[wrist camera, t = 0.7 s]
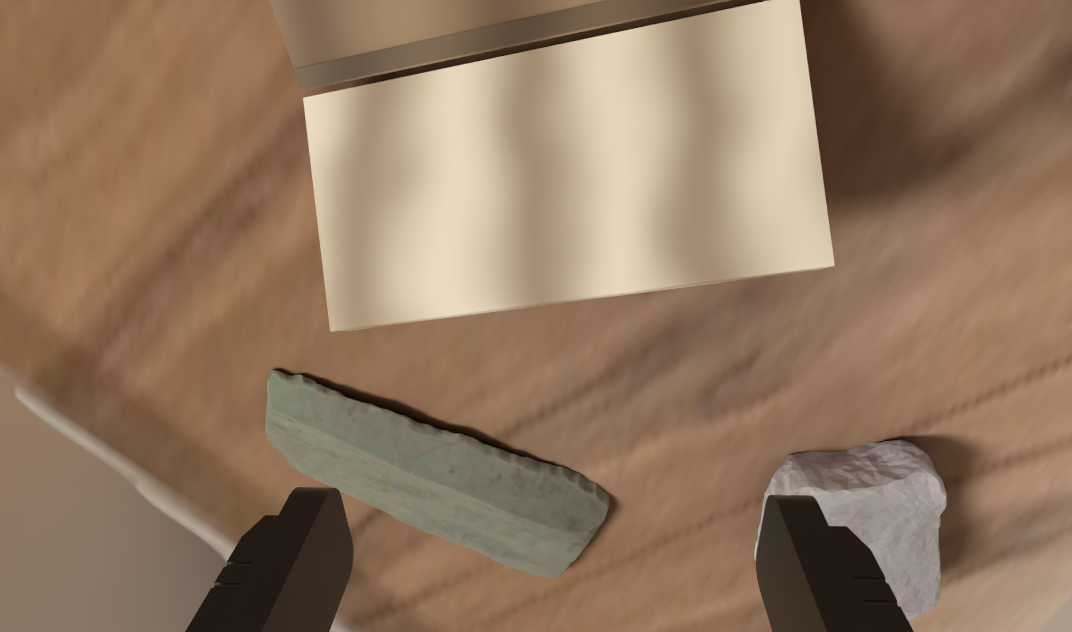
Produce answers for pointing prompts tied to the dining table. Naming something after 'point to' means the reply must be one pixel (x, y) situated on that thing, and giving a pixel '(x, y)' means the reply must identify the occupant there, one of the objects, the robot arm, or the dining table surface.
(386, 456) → the stone slab
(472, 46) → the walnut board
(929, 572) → the stone block
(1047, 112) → the dining table surface
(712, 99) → the ash plank
